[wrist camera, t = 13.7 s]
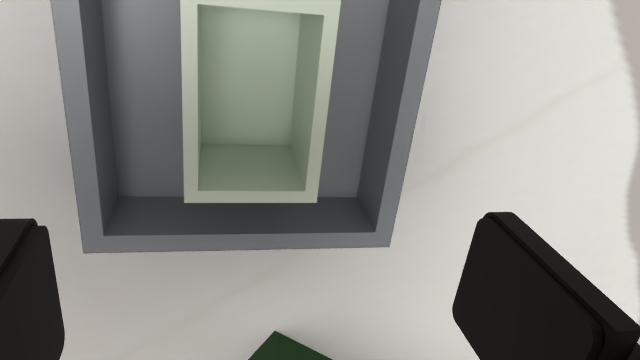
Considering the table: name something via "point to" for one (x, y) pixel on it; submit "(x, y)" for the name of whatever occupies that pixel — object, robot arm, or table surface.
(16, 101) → the table surface
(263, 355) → the binder
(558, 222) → the table surface
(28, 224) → the robot arm
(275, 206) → the big crate
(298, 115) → the small crate
